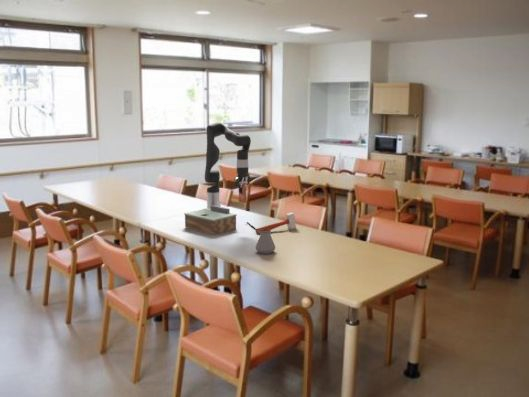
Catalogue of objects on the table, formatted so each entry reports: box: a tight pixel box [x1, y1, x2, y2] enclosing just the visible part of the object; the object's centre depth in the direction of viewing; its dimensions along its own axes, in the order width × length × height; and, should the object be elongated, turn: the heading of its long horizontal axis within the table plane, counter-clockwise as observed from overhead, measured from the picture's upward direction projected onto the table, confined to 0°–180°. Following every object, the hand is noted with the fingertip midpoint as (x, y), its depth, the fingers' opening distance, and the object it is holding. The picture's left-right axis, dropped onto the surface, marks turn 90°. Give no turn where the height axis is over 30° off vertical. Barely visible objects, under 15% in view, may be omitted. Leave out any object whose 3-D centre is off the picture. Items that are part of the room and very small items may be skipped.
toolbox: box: [184, 215, 237, 236], centre depth 352 cm, size 20×28×9 cm
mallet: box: [255, 212, 297, 235], centre depth 347 cm, size 11×4×30 cm
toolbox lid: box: [183, 205, 238, 221], centre depth 351 cm, size 21×28×4 cm
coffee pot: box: [245, 221, 276, 255], centre depth 304 cm, size 21×12×15 cm, turn 46°
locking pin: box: [238, 184, 247, 204], centre depth 343 cm, size 3×3×12 cm
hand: (242, 192), depth 343 cm, fingers closed on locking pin, 3 cm apart
